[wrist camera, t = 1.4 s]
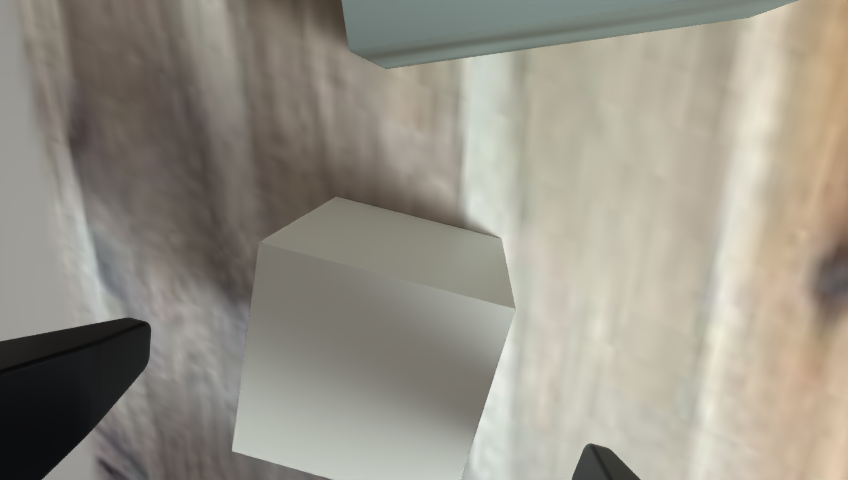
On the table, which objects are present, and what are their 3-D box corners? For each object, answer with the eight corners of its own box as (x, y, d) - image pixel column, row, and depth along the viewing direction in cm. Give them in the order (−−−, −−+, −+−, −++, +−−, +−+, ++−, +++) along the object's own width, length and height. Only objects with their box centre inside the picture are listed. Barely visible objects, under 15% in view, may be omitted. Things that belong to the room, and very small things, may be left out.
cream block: (501, 237, 13) (515, 309, 8) (458, 381, 15) (450, 512, 10) (337, 195, 13) (258, 241, 9) (310, 341, 15) (231, 450, 10)
